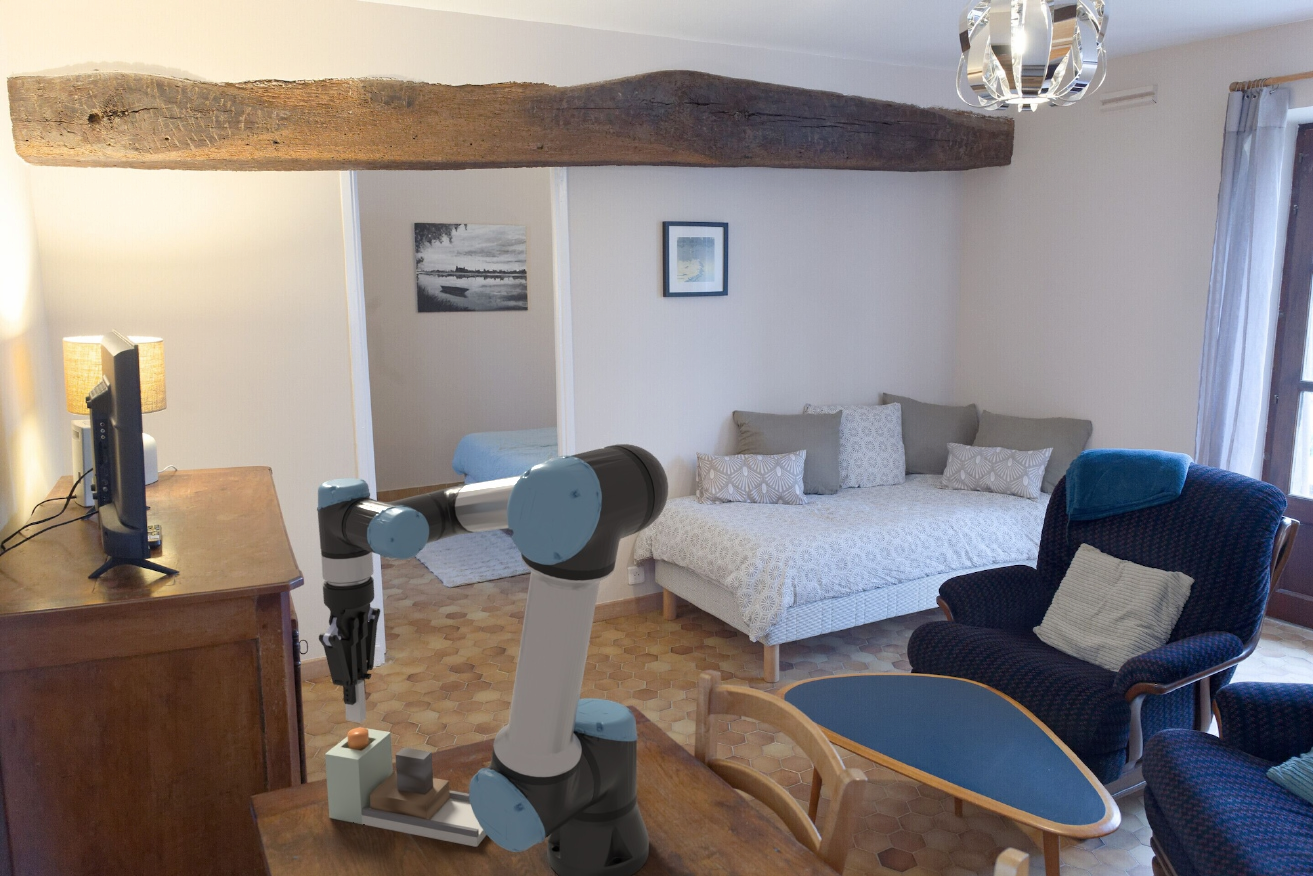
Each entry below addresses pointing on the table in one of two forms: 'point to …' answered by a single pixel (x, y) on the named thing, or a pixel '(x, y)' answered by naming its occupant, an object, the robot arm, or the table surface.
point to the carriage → (411, 787)
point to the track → (434, 822)
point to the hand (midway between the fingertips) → (356, 719)
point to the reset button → (358, 739)
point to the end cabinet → (356, 775)
